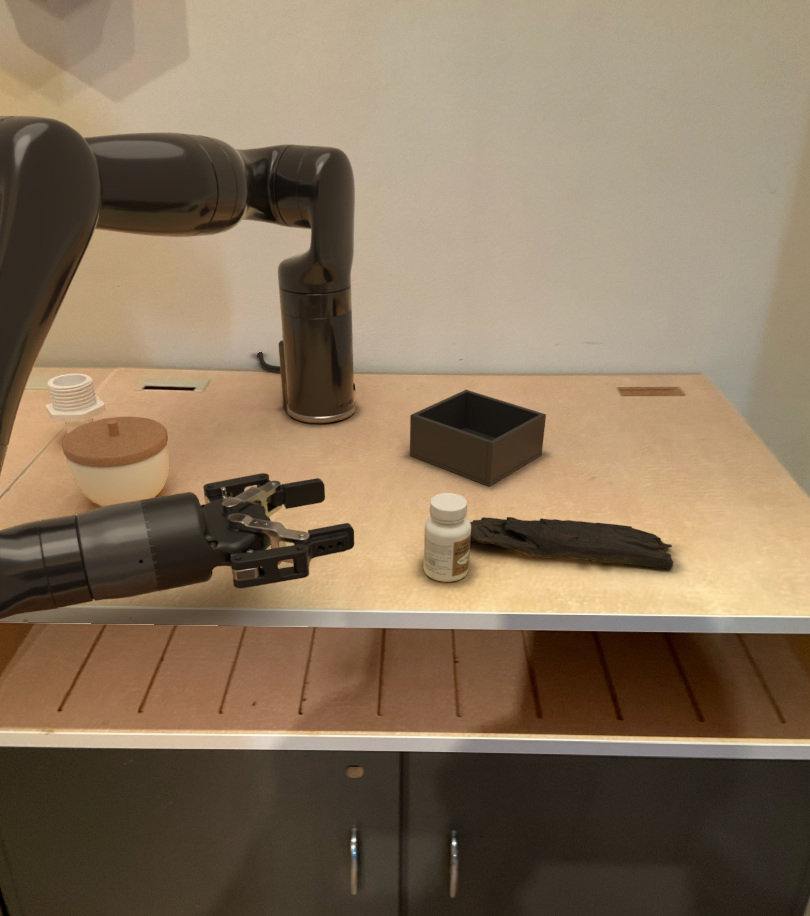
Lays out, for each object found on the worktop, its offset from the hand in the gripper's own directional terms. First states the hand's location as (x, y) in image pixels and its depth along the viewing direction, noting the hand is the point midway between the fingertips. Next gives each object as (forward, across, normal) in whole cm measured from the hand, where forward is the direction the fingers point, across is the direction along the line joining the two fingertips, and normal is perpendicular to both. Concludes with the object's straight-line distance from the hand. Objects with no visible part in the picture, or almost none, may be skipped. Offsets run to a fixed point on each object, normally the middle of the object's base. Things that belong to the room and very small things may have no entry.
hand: (337, 511), depth 69 cm
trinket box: (-17, +26, +9) cm, 32 cm away
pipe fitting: (-21, +44, +9) cm, 49 cm away
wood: (+24, 0, +9) cm, 25 cm away
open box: (+25, +22, +9) cm, 34 cm away
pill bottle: (+11, 0, +9) cm, 14 cm away
